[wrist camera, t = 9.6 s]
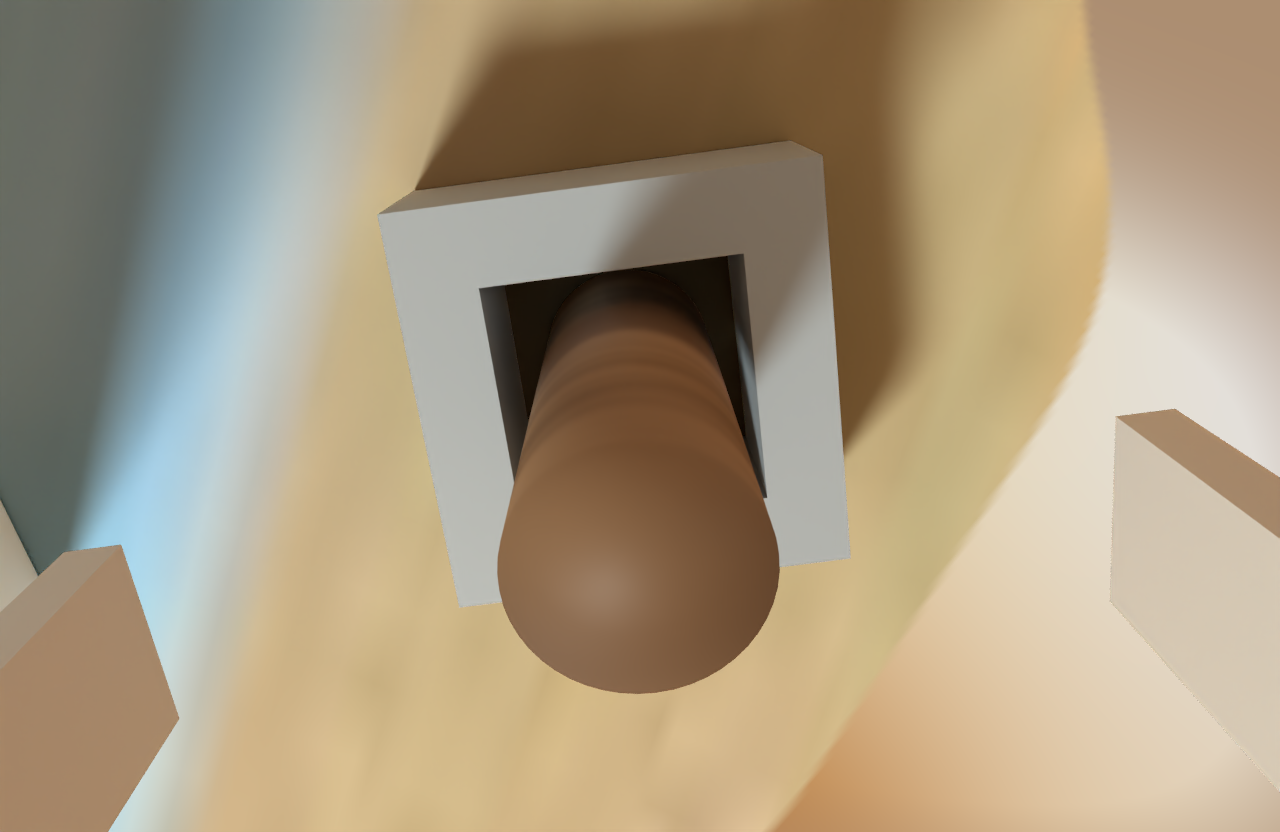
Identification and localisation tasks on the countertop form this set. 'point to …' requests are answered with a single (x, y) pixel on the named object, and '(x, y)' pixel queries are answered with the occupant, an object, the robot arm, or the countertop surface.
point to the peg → (635, 499)
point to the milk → (12, 562)
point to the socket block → (606, 241)
